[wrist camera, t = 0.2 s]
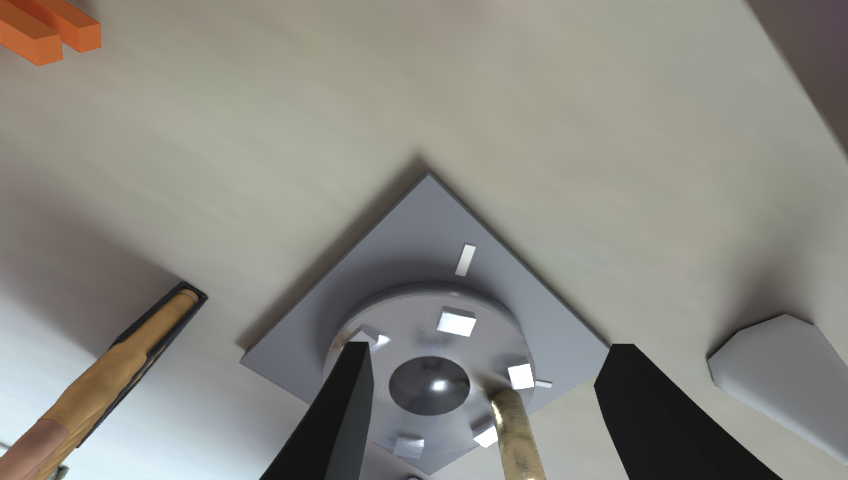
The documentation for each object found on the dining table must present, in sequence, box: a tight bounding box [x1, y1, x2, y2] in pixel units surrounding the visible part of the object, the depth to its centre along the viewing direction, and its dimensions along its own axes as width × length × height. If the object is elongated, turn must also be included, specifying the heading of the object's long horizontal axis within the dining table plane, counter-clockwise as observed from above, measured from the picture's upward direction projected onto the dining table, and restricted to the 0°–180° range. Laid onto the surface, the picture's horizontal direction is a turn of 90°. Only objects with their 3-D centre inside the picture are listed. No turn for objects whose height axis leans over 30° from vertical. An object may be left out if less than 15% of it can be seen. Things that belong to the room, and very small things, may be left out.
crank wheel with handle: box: [323, 281, 546, 480], centre depth 20 cm, size 13×13×7 cm
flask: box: [708, 314, 848, 467], centre depth 20 cm, size 7×7×10 cm
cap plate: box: [239, 170, 610, 476], centre depth 24 cm, size 18×18×1 cm
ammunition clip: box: [0, 282, 208, 480], centre depth 18 cm, size 11×2×12 cm, turn 136°
